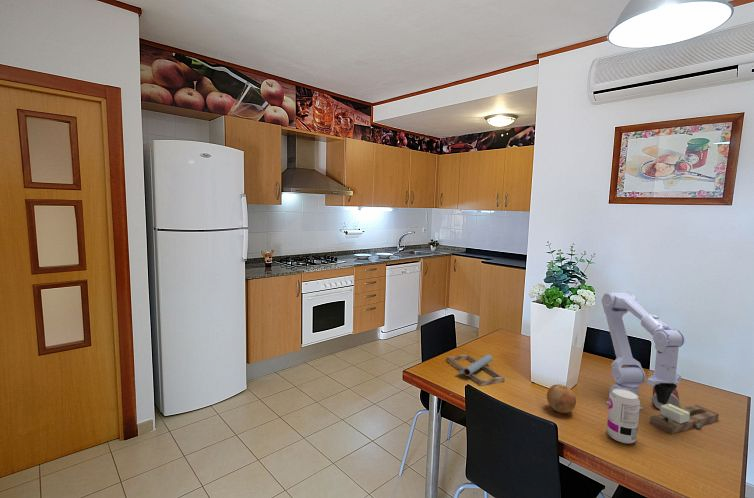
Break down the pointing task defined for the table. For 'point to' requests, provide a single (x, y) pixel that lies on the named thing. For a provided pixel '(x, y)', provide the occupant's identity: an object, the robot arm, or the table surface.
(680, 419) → the rider
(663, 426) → the wooden slotted frame
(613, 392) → the supplement can
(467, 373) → the aluminum foil
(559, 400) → the onion
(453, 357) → the foil cradle
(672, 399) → the canned food
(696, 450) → the table surface
